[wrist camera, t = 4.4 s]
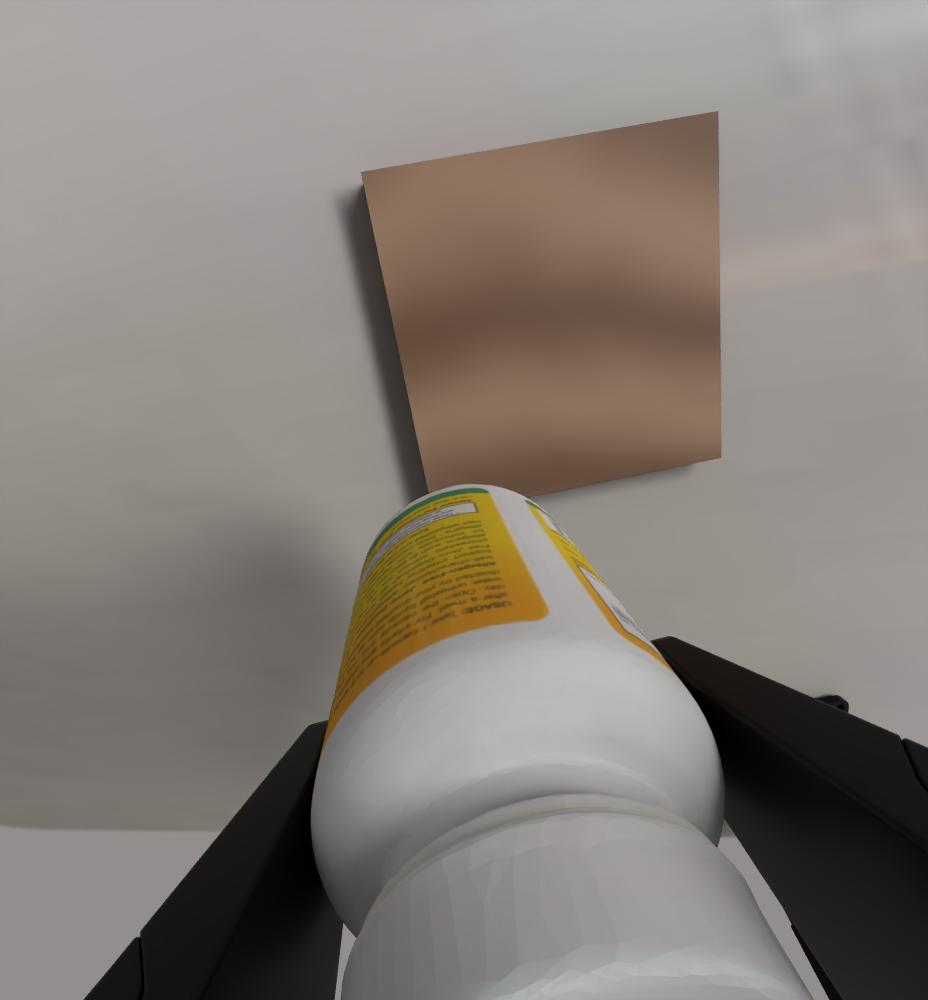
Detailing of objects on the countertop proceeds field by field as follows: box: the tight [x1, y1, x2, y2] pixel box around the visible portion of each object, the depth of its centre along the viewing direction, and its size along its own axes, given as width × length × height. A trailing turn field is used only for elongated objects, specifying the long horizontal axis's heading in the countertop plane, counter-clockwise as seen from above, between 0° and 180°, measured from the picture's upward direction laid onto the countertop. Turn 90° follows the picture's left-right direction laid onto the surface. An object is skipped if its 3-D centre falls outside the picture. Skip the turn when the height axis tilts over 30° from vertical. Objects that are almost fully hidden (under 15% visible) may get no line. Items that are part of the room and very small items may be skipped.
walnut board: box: [361, 111, 721, 498], centre depth 19 cm, size 12×12×1 cm
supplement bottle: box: [311, 484, 813, 1000], centre depth 8 cm, size 5×5×10 cm
